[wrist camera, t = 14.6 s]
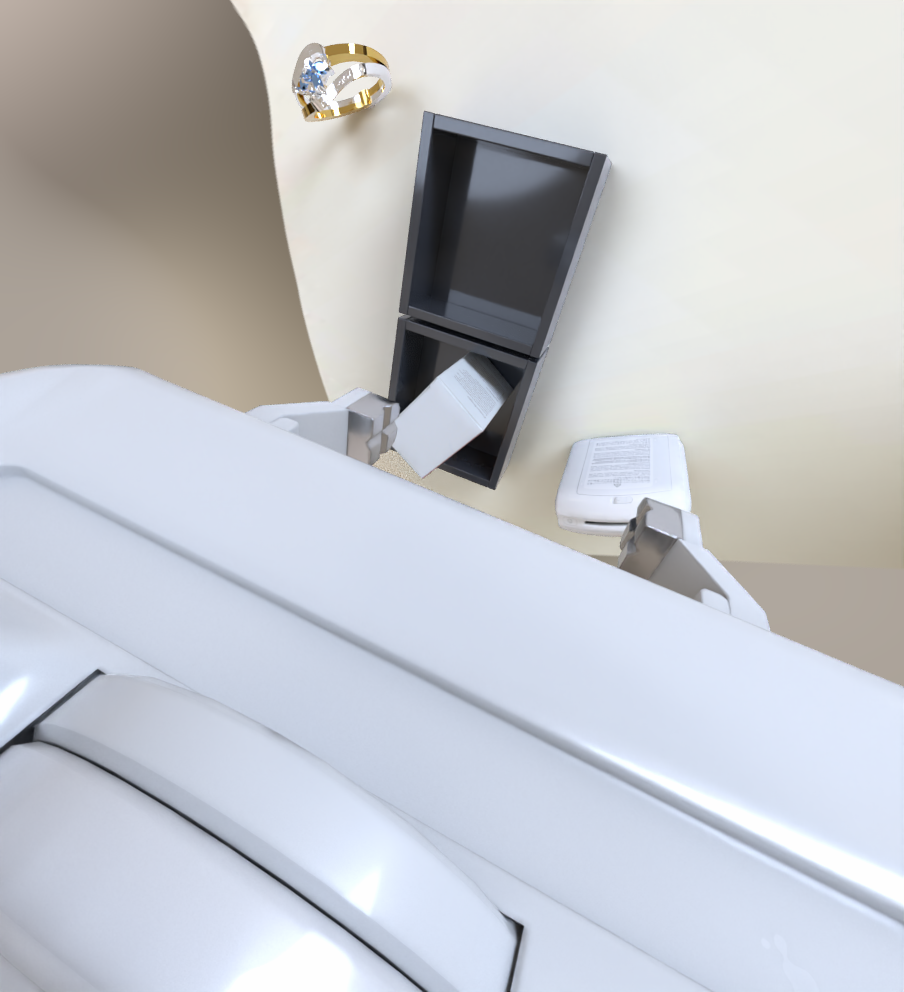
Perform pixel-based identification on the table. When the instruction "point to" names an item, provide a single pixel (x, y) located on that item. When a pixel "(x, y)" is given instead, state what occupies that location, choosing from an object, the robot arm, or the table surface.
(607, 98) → the table surface
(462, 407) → the small box
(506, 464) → the basin
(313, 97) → the ring
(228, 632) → the robot arm
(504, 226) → the basin
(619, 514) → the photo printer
